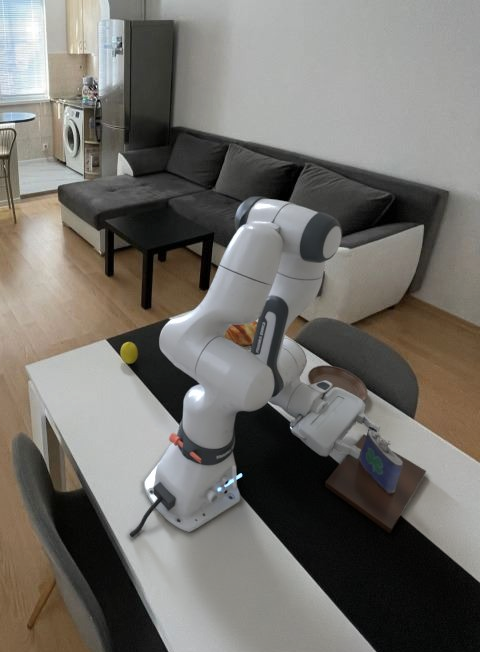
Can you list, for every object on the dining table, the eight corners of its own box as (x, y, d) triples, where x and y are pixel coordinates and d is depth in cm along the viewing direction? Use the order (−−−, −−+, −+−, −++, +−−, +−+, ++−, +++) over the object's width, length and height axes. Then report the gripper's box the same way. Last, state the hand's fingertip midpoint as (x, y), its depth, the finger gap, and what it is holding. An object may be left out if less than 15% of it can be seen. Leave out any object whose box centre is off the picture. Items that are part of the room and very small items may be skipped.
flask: (397, 493, 93) (408, 458, 89) (384, 495, 93) (395, 460, 89) (366, 456, 102) (375, 422, 98) (355, 457, 102) (363, 424, 98)
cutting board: (390, 533, 87) (391, 529, 87) (324, 486, 97) (325, 481, 97) (424, 475, 98) (426, 470, 98) (362, 438, 108) (363, 433, 107)
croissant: (268, 337, 151) (265, 314, 152) (284, 342, 141) (280, 318, 142) (210, 343, 149) (207, 320, 150) (222, 349, 139) (219, 324, 140)
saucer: (375, 413, 115) (377, 406, 114) (316, 408, 117) (317, 400, 116) (353, 374, 128) (354, 367, 127) (300, 370, 131) (301, 363, 130)
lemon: (118, 359, 140) (117, 339, 137) (133, 355, 141) (133, 335, 138) (124, 370, 135) (124, 350, 132) (140, 366, 136) (140, 346, 133)
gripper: (287, 418, 100) (350, 459, 89) (329, 377, 111) (390, 409, 101) (284, 437, 102) (345, 480, 92) (325, 395, 113) (384, 429, 103)
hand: (369, 443), depth 96 cm, fingers open, 8 cm apart
